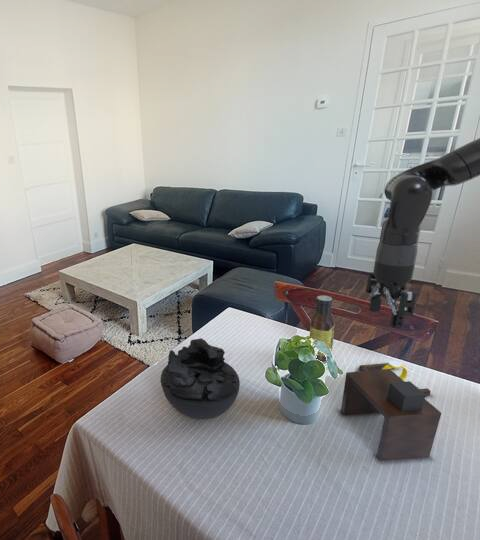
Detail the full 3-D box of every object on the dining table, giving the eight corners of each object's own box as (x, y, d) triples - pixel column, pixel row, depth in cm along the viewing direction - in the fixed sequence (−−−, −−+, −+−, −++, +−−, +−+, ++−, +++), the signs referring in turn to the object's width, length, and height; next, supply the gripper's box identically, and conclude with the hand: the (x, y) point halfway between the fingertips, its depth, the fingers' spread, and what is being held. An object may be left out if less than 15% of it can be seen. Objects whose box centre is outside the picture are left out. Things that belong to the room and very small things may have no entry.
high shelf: (381, 408, 84) (389, 368, 80) (429, 457, 71) (441, 413, 67) (340, 411, 84) (346, 372, 80) (380, 461, 71) (389, 416, 67)
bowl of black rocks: (243, 391, 95) (244, 333, 88) (234, 447, 78) (234, 381, 72) (174, 377, 103) (170, 324, 97) (152, 426, 87) (146, 365, 80)
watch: (400, 377, 93) (404, 359, 91) (407, 384, 90) (411, 366, 88) (377, 379, 93) (380, 361, 91) (383, 385, 91) (387, 367, 89)
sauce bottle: (334, 361, 102) (342, 303, 95) (312, 361, 103) (318, 303, 96) (325, 349, 108) (332, 293, 101) (304, 349, 109) (309, 294, 102)
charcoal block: (406, 396, 71) (409, 381, 70) (421, 410, 68) (425, 394, 66) (386, 398, 72) (389, 382, 70) (401, 412, 68) (404, 396, 66)
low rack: (394, 366, 97) (395, 362, 97) (429, 395, 86) (431, 390, 85) (358, 369, 98) (359, 365, 97) (389, 398, 86) (390, 394, 86)
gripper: (435, 268, 74) (420, 332, 79) (392, 249, 87) (382, 305, 93) (397, 271, 75) (386, 334, 80) (361, 251, 88) (353, 306, 94)
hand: (384, 318), depth 87 cm, fingers open, 8 cm apart
